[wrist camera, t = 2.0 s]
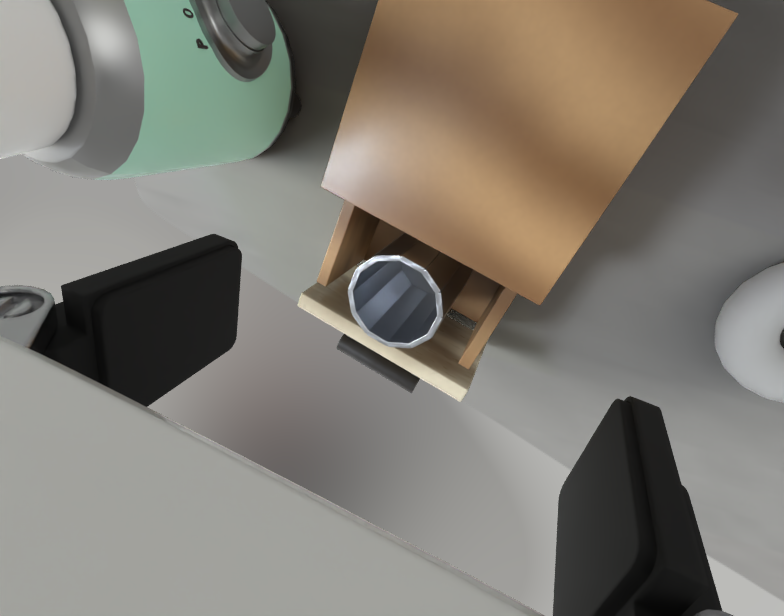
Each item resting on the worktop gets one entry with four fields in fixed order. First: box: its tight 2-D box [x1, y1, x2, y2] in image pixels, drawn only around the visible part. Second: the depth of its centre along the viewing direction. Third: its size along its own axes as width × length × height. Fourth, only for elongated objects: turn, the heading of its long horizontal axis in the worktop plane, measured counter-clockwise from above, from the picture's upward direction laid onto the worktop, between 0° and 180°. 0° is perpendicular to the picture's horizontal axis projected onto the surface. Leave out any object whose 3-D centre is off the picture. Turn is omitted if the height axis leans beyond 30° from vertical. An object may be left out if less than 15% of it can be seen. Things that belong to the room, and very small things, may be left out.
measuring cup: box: [348, 233, 473, 348], centre depth 30 cm, size 6×6×9 cm
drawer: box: [298, 200, 517, 402], centre depth 32 cm, size 18×13×8 cm
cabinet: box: [321, 0, 738, 305], centre depth 26 cm, size 15×15×10 cm
